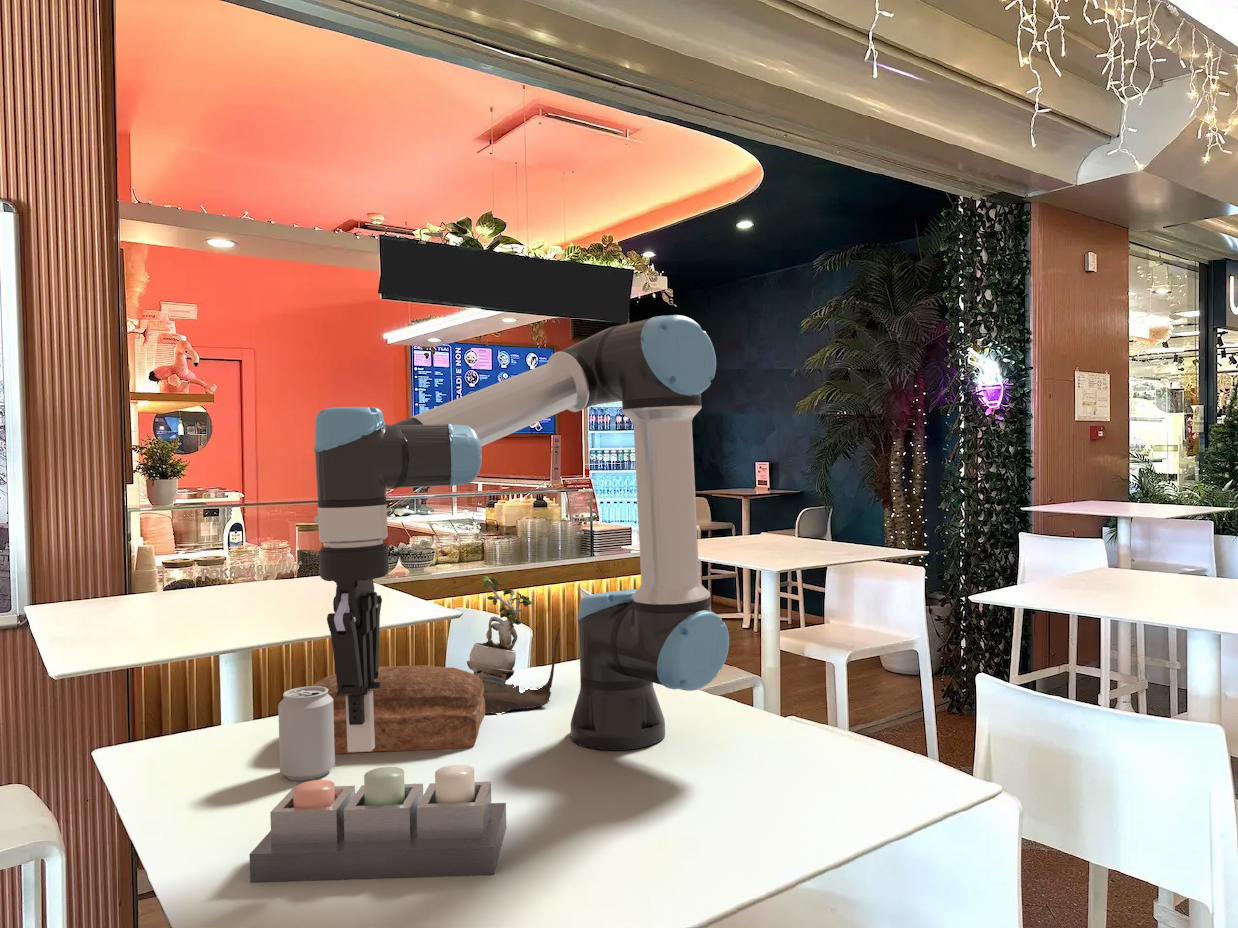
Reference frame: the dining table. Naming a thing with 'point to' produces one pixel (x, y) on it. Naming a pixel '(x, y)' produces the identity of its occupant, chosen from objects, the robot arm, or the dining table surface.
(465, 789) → the button ivory
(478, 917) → the dining table surface
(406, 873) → the console
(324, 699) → the can
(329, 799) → the button coral
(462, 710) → the bread
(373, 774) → the button sage
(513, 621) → the potted plant
